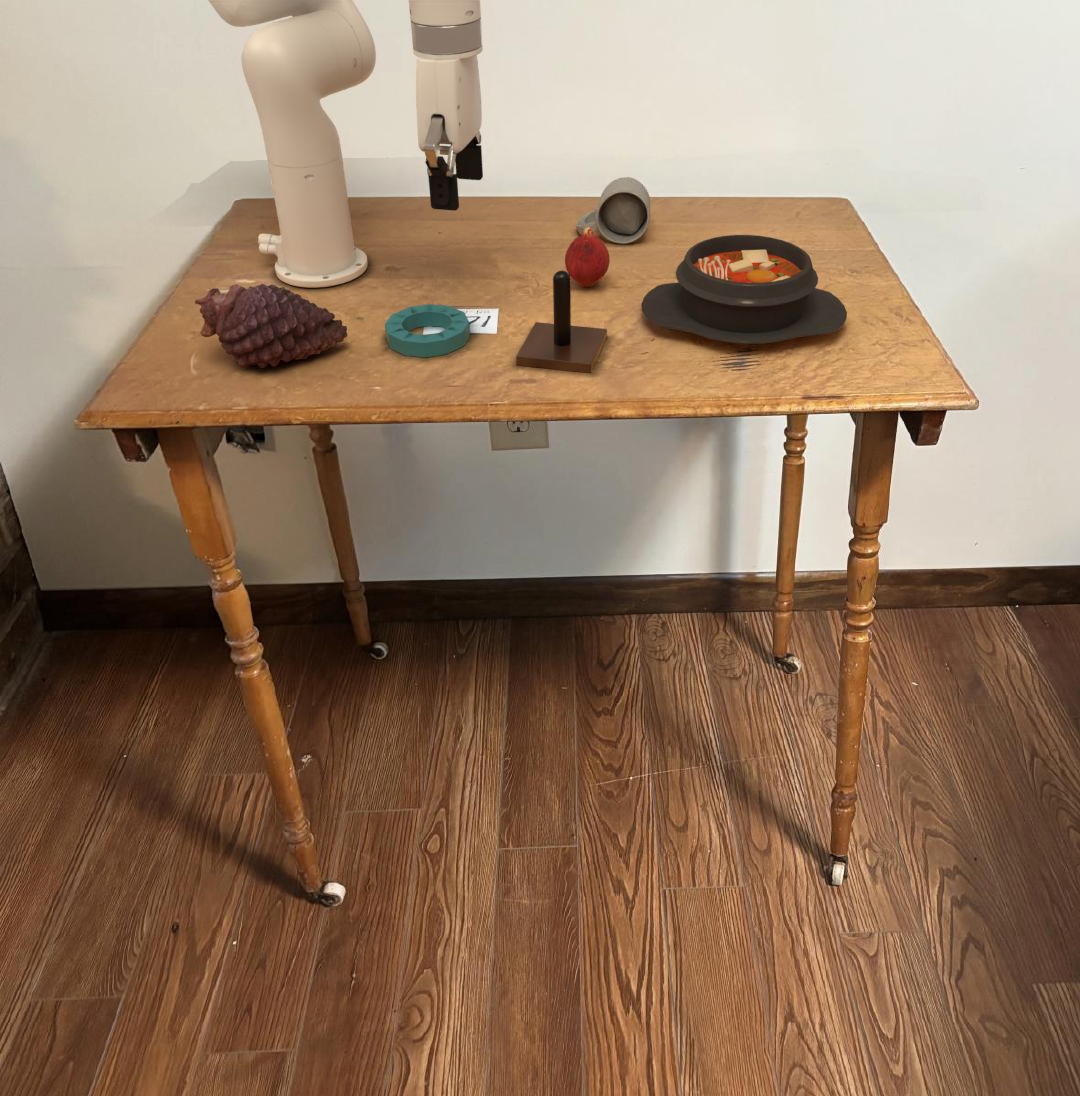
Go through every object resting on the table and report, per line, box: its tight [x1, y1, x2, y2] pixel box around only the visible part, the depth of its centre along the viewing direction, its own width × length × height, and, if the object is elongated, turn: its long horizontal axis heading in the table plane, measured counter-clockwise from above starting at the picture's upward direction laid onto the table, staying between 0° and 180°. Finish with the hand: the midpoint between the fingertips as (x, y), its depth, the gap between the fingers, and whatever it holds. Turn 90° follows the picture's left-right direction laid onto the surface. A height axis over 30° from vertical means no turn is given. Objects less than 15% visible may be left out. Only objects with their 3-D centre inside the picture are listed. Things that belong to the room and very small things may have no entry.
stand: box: [515, 270, 608, 374], centre depth 128 cm, size 9×9×10 cm
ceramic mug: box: [575, 176, 651, 245], centre depth 157 cm, size 11×8×8 cm
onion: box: [564, 227, 611, 288], centre depth 143 cm, size 6×6×8 cm
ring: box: [384, 303, 471, 358], centre depth 134 cm, size 10×10×2 cm
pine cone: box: [194, 283, 348, 369], centre depth 129 cm, size 18×10×10 cm
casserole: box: [641, 234, 848, 345], centre depth 134 cm, size 25×19×8 cm
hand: (457, 193), depth 129 cm, fingers open, 9 cm apart
